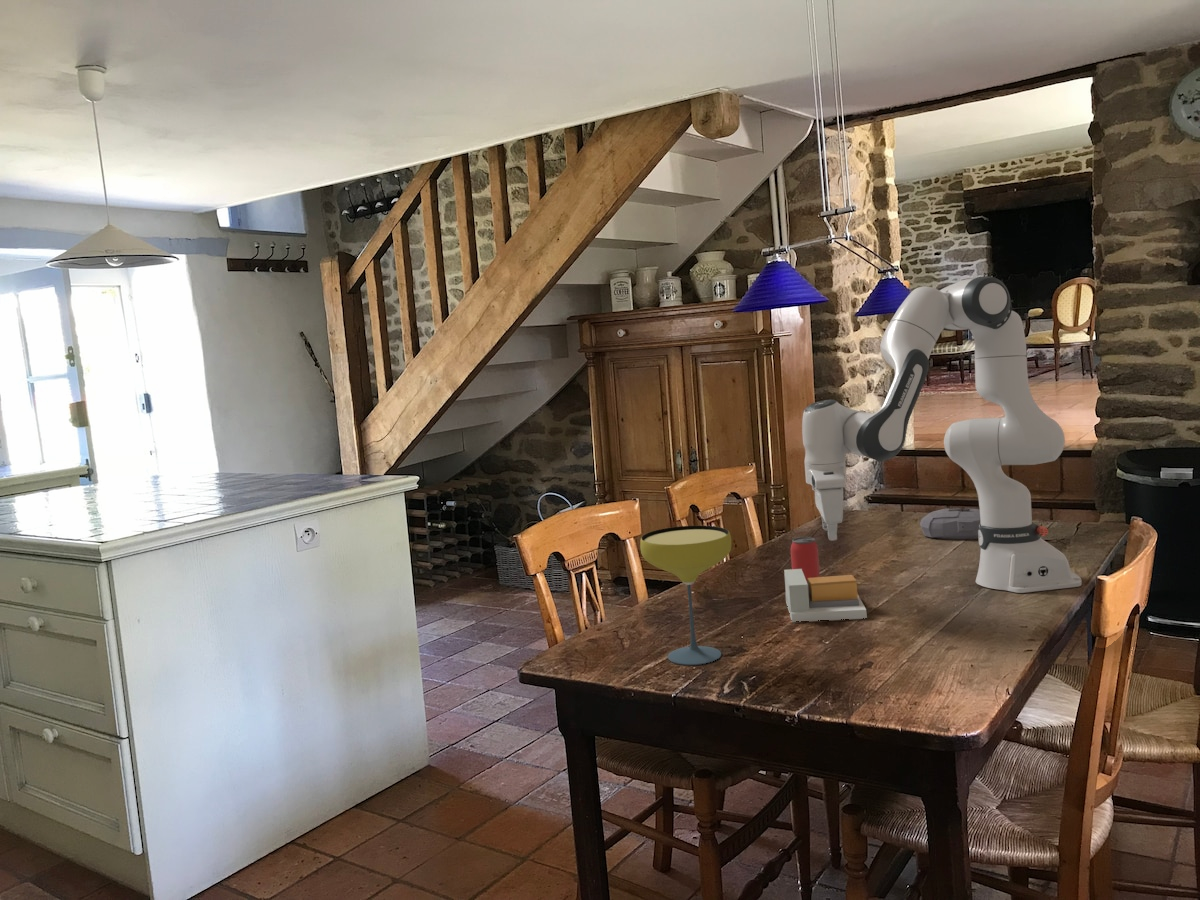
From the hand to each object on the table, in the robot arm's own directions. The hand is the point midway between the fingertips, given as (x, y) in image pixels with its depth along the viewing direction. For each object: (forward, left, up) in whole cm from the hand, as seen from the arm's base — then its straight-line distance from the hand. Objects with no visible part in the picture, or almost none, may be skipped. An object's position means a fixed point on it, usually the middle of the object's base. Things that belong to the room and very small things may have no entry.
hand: (829, 534), depth 211 cm
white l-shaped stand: (+2, 0, -17) cm, 17 cm away
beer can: (+4, -20, -17) cm, 27 cm away
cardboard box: (0, 0, -15) cm, 15 cm away
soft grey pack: (-43, -66, -18) cm, 81 cm away
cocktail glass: (+31, +27, -17) cm, 45 cm away
